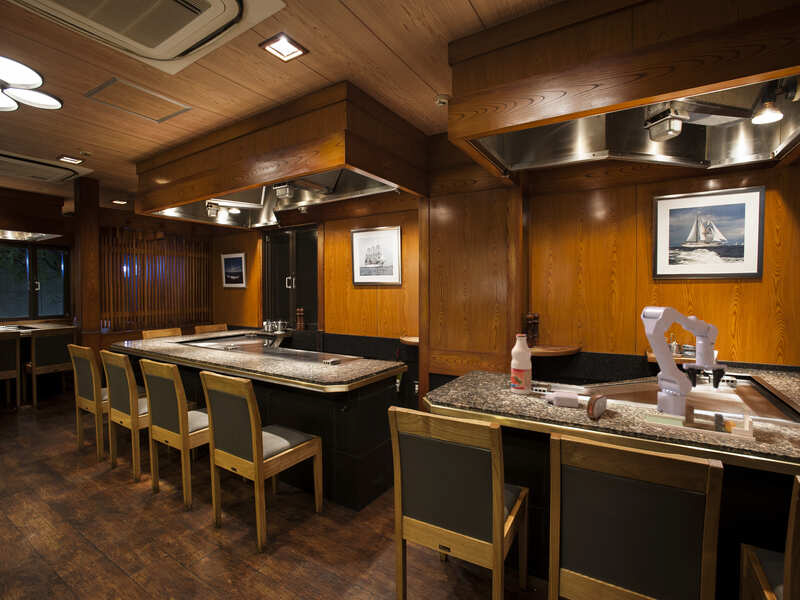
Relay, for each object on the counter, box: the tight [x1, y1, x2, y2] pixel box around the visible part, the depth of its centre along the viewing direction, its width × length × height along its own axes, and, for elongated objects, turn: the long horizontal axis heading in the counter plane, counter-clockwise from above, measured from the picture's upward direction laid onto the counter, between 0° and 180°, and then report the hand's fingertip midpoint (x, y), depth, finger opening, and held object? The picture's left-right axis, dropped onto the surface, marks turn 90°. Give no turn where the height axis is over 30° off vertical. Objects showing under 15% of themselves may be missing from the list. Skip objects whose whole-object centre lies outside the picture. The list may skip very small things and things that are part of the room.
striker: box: [682, 402, 724, 432], centre depth 137 cm, size 11×4×7 cm, turn 56°
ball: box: [723, 420, 737, 433], centre depth 133 cm, size 4×4×4 cm
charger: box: [540, 390, 579, 409], centre depth 173 cm, size 5×9×15 cm
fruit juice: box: [510, 333, 532, 395], centre depth 192 cm, size 9×9×28 cm
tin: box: [586, 392, 608, 420], centre depth 155 cm, size 15×3×8 cm, turn 134°
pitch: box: [644, 412, 756, 443], centre depth 138 cm, size 30×13×8 cm, turn 56°
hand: (704, 387), depth 160 cm, fingers open, 7 cm apart
